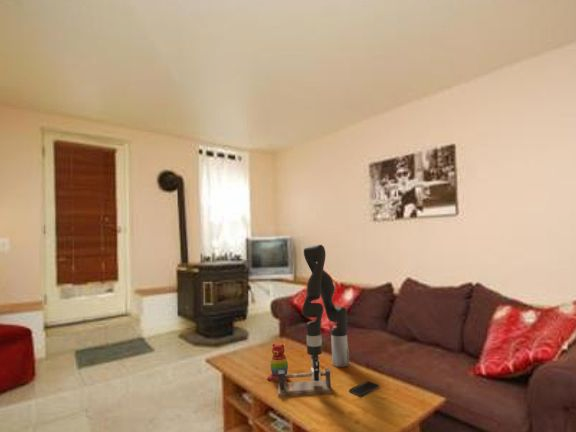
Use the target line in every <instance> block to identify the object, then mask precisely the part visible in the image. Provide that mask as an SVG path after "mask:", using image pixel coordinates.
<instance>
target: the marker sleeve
mask: <svg viewBox="0 0 576 432" xmlns="http://www.w3.org/2000/svg"><path fill="white" fill-rule="evenodd" d="M316 370H318V369H315V371H316ZM319 371H320V372H321V370H320V368H319ZM320 372H319V381H315V380H314V369H313V368H312V367H310V373H312V377H310V378H311V381H312V382H320V381H321V380H322V379H321V377H322V376H320Z"/></svg>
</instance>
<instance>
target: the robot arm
mask: <svg viewBox="0 0 576 432" xmlns="http://www.w3.org/2000/svg"><path fill="white" fill-rule="evenodd" d="M326 253H327V252H326V250H325V246H324V245H322V244H314V245H309V246H305V247H304V248H303V256H304V259H305V261H306V264H307V265H308V268H309V270H310V272H311V275H310V277H309V278H308V281H307V284H306V285H307V286H306V295H305V299H304V302H303V304H302V309H301V314H302V315H303V317H305V318H315V320H312V321H308V322H307V323H306V352H307V354H308V355H309V356H310V361H311V368H313V369H314V380H315V381H319V372H321V370H320V371H319V369H320V357H319V356H320V355H322V353H323V343H322V342H323V339H322V338H323V337H322V330H321V328H322V327H321V326H322V318H323V315H324V309H325V314H326V317H327V319H328V320H329V322H332V323H337V326H335V327H332V328H331V330H330V337H331V338H330V341H331V342H330V344H331V360H332V365H333V366H334V367H337V368H338V367H339V368H344V367H347V366H350V352H349V346H348V311H347V308H346V307H345V306H338V305H335V304H334V302H333V297H334V293H335V290H336V289H335V284H334V282H333V279H332V277H331V276H330V274H328V273H327V272H326V271H325V270H324V269H325V261H326ZM318 299H321V301H322V303H323V305H324V306H323V305H322V303H320V302H313V301H315V300H318ZM315 369H318V370H316V371H315Z"/></svg>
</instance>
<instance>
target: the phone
mask: <svg viewBox="0 0 576 432" xmlns="http://www.w3.org/2000/svg"><path fill="white" fill-rule="evenodd" d="M379 388H380V385H379V384H377V383H375V382H372V381H365V382H362V383H360V384H358V385H356V386H354V387H352V388H350V389H348V392H349V393H350V394H352V395H355V396H357V397H358V398H361V397H364V396H365V395H368V394H370V393H372V392H374V391H376V390H377V389H379Z"/></svg>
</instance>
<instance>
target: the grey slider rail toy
mask: <svg viewBox="0 0 576 432" xmlns="http://www.w3.org/2000/svg"><path fill="white" fill-rule="evenodd" d="M324 376H325V379H323V380H322V379H321V381H320V382H312V380H306V381H292V382H291V381H290V382H287V381H286V382H285V378H288V379H292V378H307V377H308V378H309V377H310V378H311V377H312V373H311V372H305V373H289V374H288V373H287V375H285V373H284V370H279V371H278V377H279V382H277V395H278V398H285V397H299V396H314V395H327V394H328V395H330V394H333V388H332V385H331V371H330V368H329V367H325V368H324V371H323V372H321V371H320V377H324Z"/></svg>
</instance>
